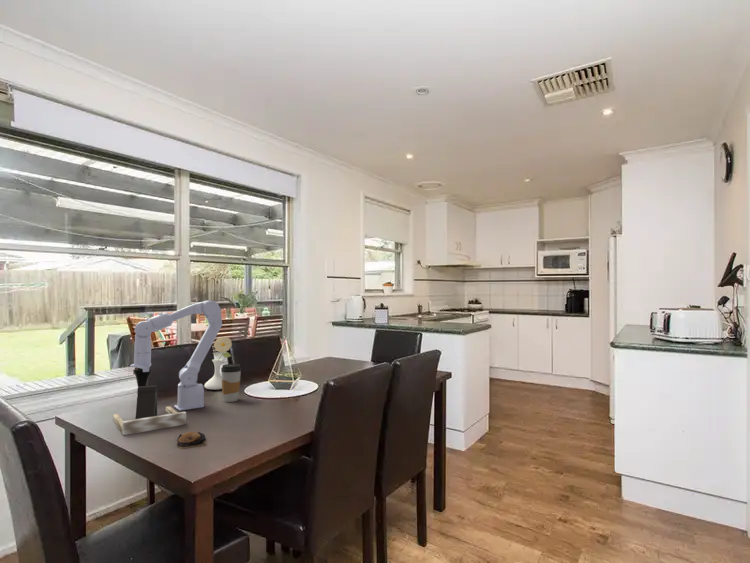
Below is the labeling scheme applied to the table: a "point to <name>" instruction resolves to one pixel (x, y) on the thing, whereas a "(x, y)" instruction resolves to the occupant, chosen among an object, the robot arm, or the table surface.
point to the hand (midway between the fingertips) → (141, 387)
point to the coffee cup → (230, 382)
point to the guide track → (151, 422)
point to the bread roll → (191, 440)
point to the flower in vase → (219, 363)
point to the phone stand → (146, 401)
